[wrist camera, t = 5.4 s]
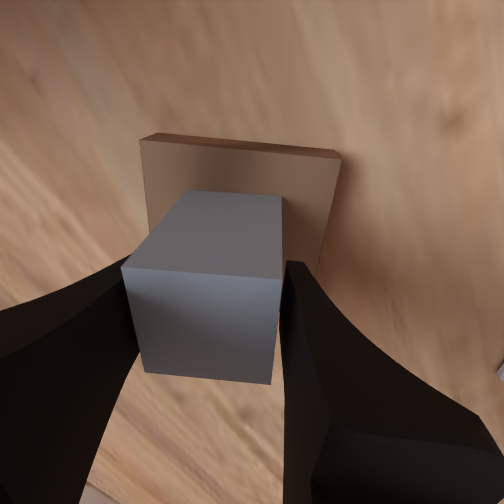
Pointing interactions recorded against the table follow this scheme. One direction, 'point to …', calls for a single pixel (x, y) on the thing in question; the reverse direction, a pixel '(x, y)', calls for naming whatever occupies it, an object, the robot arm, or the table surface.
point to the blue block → (209, 287)
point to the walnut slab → (246, 182)
